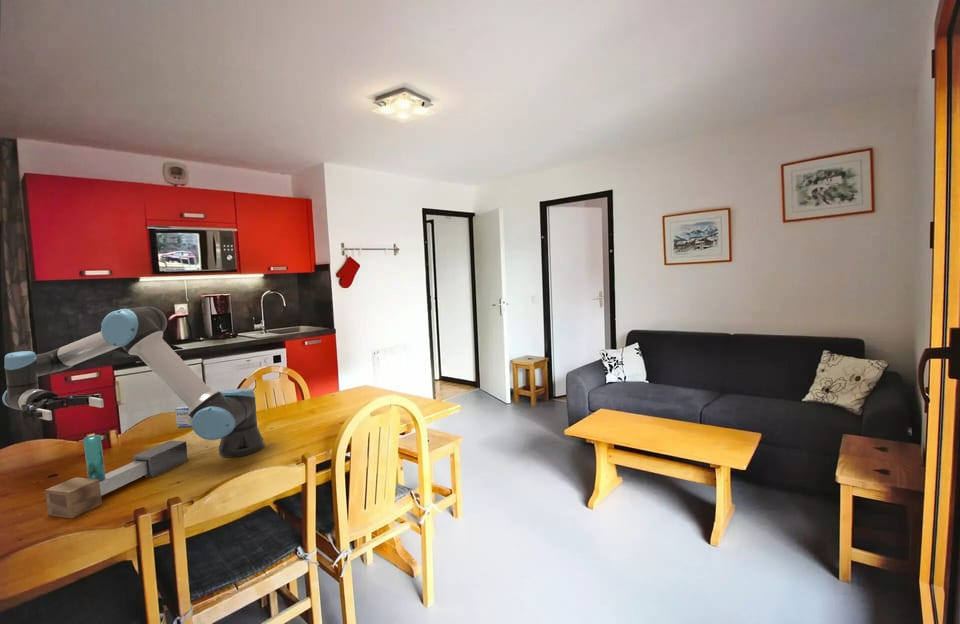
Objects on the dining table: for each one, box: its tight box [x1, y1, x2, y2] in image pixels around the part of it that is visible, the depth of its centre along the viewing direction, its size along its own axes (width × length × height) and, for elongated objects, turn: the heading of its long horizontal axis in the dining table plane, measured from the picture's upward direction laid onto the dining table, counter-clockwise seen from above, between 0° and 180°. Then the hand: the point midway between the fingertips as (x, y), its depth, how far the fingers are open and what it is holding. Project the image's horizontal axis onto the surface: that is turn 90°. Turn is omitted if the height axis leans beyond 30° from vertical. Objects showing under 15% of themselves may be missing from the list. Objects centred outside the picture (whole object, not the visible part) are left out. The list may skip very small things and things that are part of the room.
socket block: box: [44, 476, 103, 519], centre depth 134 cm, size 8×9×8 cm
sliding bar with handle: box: [82, 434, 149, 497], centre depth 144 cm, size 23×4×18 cm, turn 166°
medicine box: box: [174, 405, 193, 429], centre depth 206 cm, size 8×4×9 cm, turn 99°
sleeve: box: [132, 440, 189, 478], centre depth 161 cm, size 14×7×7 cm, turn 166°
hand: (77, 409), depth 145 cm, fingers open, 13 cm apart
